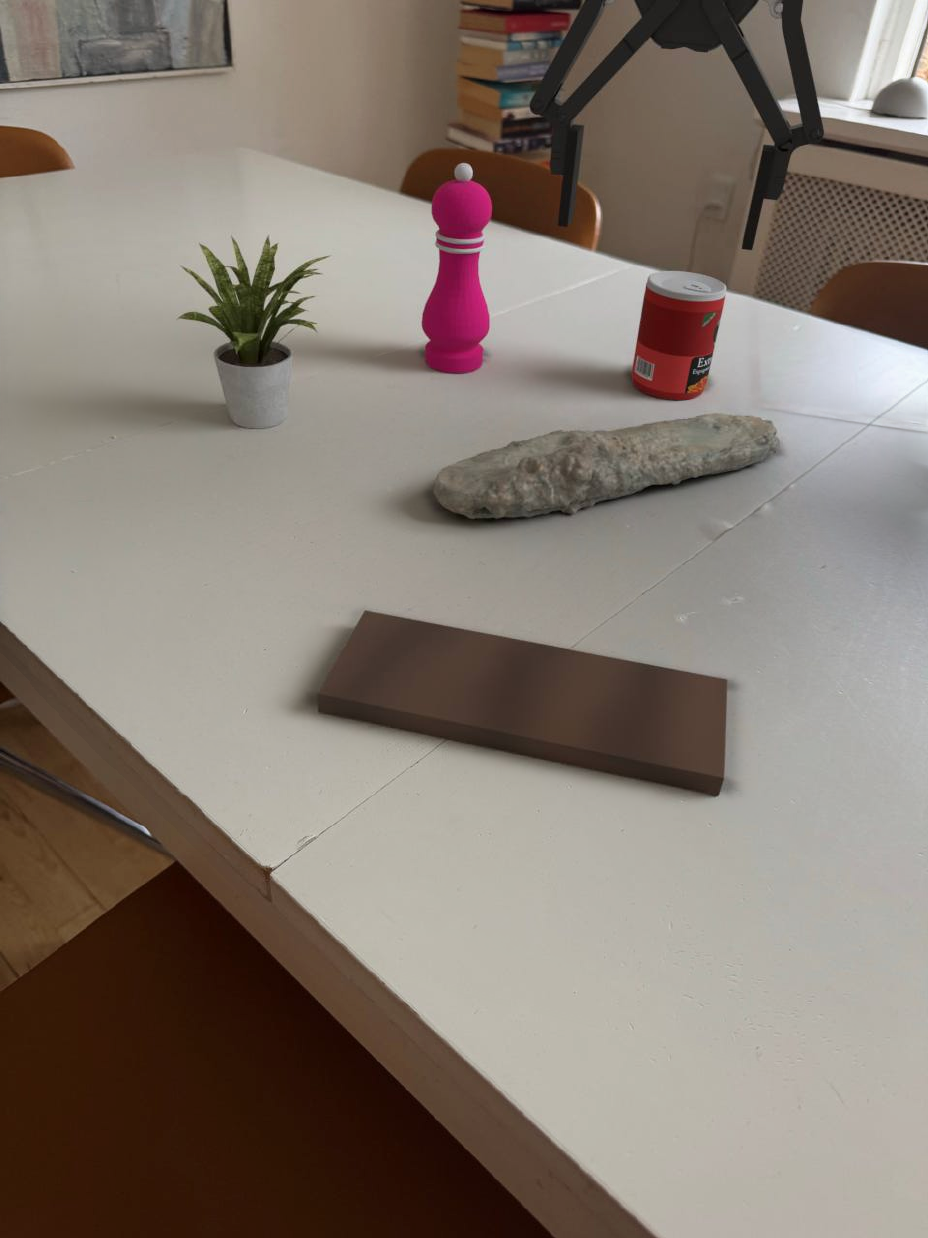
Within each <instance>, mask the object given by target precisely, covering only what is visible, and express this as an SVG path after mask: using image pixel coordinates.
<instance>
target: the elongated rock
mask: <svg viewBox="0 0 928 1238" xmlns="http://www.w3.org/2000/svg"><path fill="white" fill-rule="evenodd" d="M773 423H774V422H773V420H768V419H765V420H764V419H763V418H762V417H760V416H759V417H758V416H754V415H739V414H735V415H733V414H725V413H717V412H714V413H708V414H701V415H697V416H694V417H688V418H677V419H672V420H661V421H655V422H651V423H643V424H641V425H637V426H628V427H624V428H618V429H613V430H602V429H601V430H600V429H599V430H593V431H592V430H579V429H577V430H574V429H573V430H569V431H567V430H566V431H564V430H563V429H559V430H554V431H550V432H549V433H547V434H543V435H539V436H536V437H533V438H528V439H525V440H517V441H516V440H513V441H511V442H509V443H508V444H507V445H506V446H503V447H501V448H496V449H491V450H488V451H484V452H483V451H482V452H480V453H478V454H476V455H473V456H471V457H469V458H465V459H461V460H459V461H457V462H455V463H453V464H450V465H448V466H445V467H443V468H442V469H441V470H440V471H439V472H438V473H437V475H436V478H435V479H434V484H433V495H434V496H435V499H436V500H437V502H438V503H439V504H440V505H441V507H443V508H445V509H446V510H448V511H451V512H452V513H455V514H459V515H462V516H465V517H466V518H468V519H471V520H475V519H493V518H494V519H501V518H521V517H524V518H533V517H534V516H539V515H540V516H541V515H546V514H547V515H548V514H550V513H551V512H558V511H561V512H562V513H563V514H565V513H566V514H571V515H576V514H577V512H578V511H579V510H580V509H584V508H588V507H589V508H590V507H591V508H593V506H594V505H595V504H596V503H599V502H601V501H602V502H603V501H606V500H613V499H614V500H615V499H618V498H621V497H625V496H630V495H633V494H635V493H637V492H640V491H642V490H643V489H645V488H648V487H650V486H654V485H656V486H659V485H660V486H661V485H663V486H664V485H669V484H671V485H679V484H680V483H681V482H682V481H685V480H687V479H691V478H694V479H696V478H698V477H700V476H701V477H702V476H707V475H716V474H717V475H718V474H720V473H721V474H722V473H725V472H726V473H727V472H731V471H739V470H741V469H743V468H745V467H747V466H750V465H753V464H755V463H762V462H763V460H764V459H766V458H768V457H769V455H771V454H772V453H773V454H778V451H779V447H780V442H781V439H780V438H779V437H778V436H776V435H777V432H778V430H777V428H776V427H775V425H774V424H773Z"/></svg>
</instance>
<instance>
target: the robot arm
mask: <svg viewBox="0 0 928 1238" xmlns="http://www.w3.org/2000/svg"><path fill="white" fill-rule="evenodd" d="M617 1H618V0H584V1H583V4H582V6H581V7H580V9H579V11H578V13H577V15H576V17H574V20H573V22H572V24H571V25H570V27H569V29H568V30H567V33H566V35H565V37H564V38H563V39H562V42H561V44H560V46H559V47H558V50H557V51H556V53H555V55H554V56H553V59H552V60H551V62H550V64H549V66H548V68H547V70H546V71H545V73H544V76H543V77H542V79H541V80H540V83H539V84H538V86H537V88H536V90H535V92H534V93H533V95H532V97H531V99H530V101H529V110H530V112H531V113H532V114H533V115H535V116H540V117H541V118H544V119H545V120H547V121H549V123H550V124H551V126H552V138H551V149H550V158H549V170H550V175H553V176H554V175H555V176H562V179H561V180H562V181H561V191H560V198H559V199H560V200H559V208H558V217H557V227H563V228H568V227H569V226H570V225H571V223H572V221H573V220H574V219H575V218H574V217H575V209H576V200H577V191H578V183H579V173H580V165H581V158H582V148H583V142H584V141H583V140H584V131H585V125H584V124H577V123H576V124H574V122H575V119H576V117H578V116H579V114H581V113H582V111H583V110H584V109H585V108H587V106H588V105H589V104H590V103H591V102H592V100H594V99H595V98H596V96H597V95H598V94H599V93H600V92H601V91H602V90H603V89H604V88H605V87H606V85H607V84H608V83H610V81H611V80H612V79H614V77H615V76H616V75H617V74H618V73H619V72H620V71H621V69H622V68H624V66H625V65H626V64H627V63H628V62H629V61H630V60H631V59H632V58H633V57H634V55H635V54H636V53H637V52H639V50H640V49H641V48H643V46H644V45H645V44H646V43H647V42H648V41H649V40H650V39H651V40H652V42H653V43H654V44H655V45H657V46H658V47H660V49H663V50H676V49H681V48H687V49H689V50H691V51H694V52H695V53H709V52H711V51H714V50H716V49H718V48H720V46H722V47H723V49H724V51H725V53H726V55H727V57H728V58H729V60H730V62H731V63H732V65H733V67H734V69H735V70H736V72H737V74H738V76H739V79H740V80H741V82H742V84H743V86H744V88H745V91H746V93H747V94H748V96H749V97H750V100H751V101H752V104H753V105H754V107H755V109H756V111H757V113H758V115H759V116H760V118H761V121H762V122H763V124H764V126H765V129H766V130H767V132H768V134H769V136H770V138H771V140H772V142H773V143H774V144H773V145H772V144H763V145H762V150H761V154H760V159H759V163H758V168H757V172H756V177H755V182H754V187H753V191H752V197H751V200H750V205H749V209H748V214H747V218H746V224H745V229H744V233H743V237H742V243H741V250H745V251H746V250H747V251H753V249H754V244H755V241H756V236H757V231H758V226H759V221H760V217H761V214H762V208H763V204H764V200H769V201H778V200H779V199H780V197H781V196H782V194H783V190H784V186H785V181H786V178H787V173H788V168H789V165H790V160H791V156H792V154H793V153H794V151H796V149H798V148H800V147H803V146H808V145H815V144H818V143H820V142H822V140H823V138H824V136H825V128H824V125H823V119H822V114H821V110H820V105H819V99H818V96H817V91H816V85H815V81H814V76H813V70H812V66H811V62H810V61H811V60H810V57H809V52H808V47H807V44H806V43H807V42H806V37H805V33H804V28H803V23H802V13H803V7H804V0H763V1H764V2H765V3H766V4H767V5H768V10H769V13H770V15H771V17H772V18H774V19H778V20H779V19H781V30H782V36H783V41H784V45H785V51H786V54H787V59H788V64H789V69H790V73H791V78H792V83H793V88H794V91H795V96H796V101H797V106H798V110H799V116H800V119H801V122H800V123H798V124H795V125H791V124H790V122H789V120H788V118H787V116H786V115H785V113H784V110H783V109H782V107H781V105H780V103H779V100H778V99H777V97H776V95H775V93H774V91H773V89H772V87H771V85H770V83H769V81H768V79H767V78H766V75H765V74H764V72H763V69H762V68H761V65H760V63H759V62H758V60H757V57H756V55H755V54H754V52H753V50H752V48H751V46H750V43H749V41H748V39H747V37H746V36H745V33H744V31H743V30H742V27H741V26H740V24H741V23H742V22H743V21H744V20H745V19H746V18H747V16H748V15H749V14H750V13H751V12H752V11H753V9H754V8H755V7H756V6H757V4H758V3H759V1H760V0H633V2H634V4H635V6H636V8H637V11H638V13H639V14H640V19H639V20H638V21H636V23H635V24H634V25H633V26H632V27H631V28H630V30H629V31H628V32H627V33H626V34H624V36H623V37H622V38H621V39H620V41H618V43H617V44H616V45H615V47H614V48H613V49H612V50H611V51H610V52H609V53H608V54H607V55H606V56H605V57H604V59H602V61H600V63H599V64H598V65H597V66H596V67H595V68H594V69H593V71H592V72H590V74H589V75H588V76H587V77H586V78H585V79H584V80H583V81H582V82H581V84H580V85H578V87H577V88H576V89H575V90H574V91H573V92H572V94H570V95H569V97H568V98H566V100H565V101H564V102H563V101H561V100H559V99H557V96H558V95H559V93H560V91H561V89H562V87H563V85H564V84H565V82H566V80H567V78H568V77H569V75H570V73H571V71H572V69H573V68H574V66H575V64H576V62H577V60H578V59H579V57H580V55H581V53H582V52H583V49H584V48H585V46H586V45H587V43H588V41H589V39H590V37H591V36H592V34H593V32H594V30H595V28H596V26H597V25H598V23H599V21H600V20H601V17H602V16H603V14H604V12H605V10H606V6H607V5H612V4H614V3H617Z"/></svg>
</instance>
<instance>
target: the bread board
mask: <svg viewBox="0 0 928 1238" xmlns="http://www.w3.org/2000/svg"><path fill="white" fill-rule="evenodd" d="M316 696H317V698H316V699H317V712H318V713H320V714H321V713H322V714H326V715H331V716H336V717H339V718H344V719H349V720H355V721H359V722H365V723H368V724H374V725H377V726H384V727H388V728H393V729H398V730H402V731H406V732H411V733H416V734H422V735H427V736H431V737H435V738H441V739H444V740H450V741H454V742H460V743H464V744H469V745H472V746H473V745H474V746H478V747H483V748H487V749H492V750H497V751H502V752H507V753H512V754H515V755H521V756H526V757H531V758H535V759H540V760H545V761H550V762H555V763H559V764H564V765H569V766H574V767H579V768H581V769H582V768H583V769H588V770H592V771H597V772H603V773H606V774H611V775H617V776H621V777H625V778H631V779H635V780H639V781H640V780H641V781H643V782H650V783H655V784H659V785H664V786H669V787H673V788H677V789H683V790H688V791H691V792H697V793H702V794H706V795H711V796H717V797H719V796H720V794H721V791H722V788H723V784H724V781H725V777H726V776H725V775H726V772H725V771H726V744H727V742H726V740H727V715H728V714H727V711H728V709H727V707H728V679H727V678H723V677H716V676H711V675H706V674H702V673H695V672H690V671H685V670H680V669H674V668H670V667H666V666H665V667H664V666H660V665H654V664H649V663H643V662H639V661H638V662H637V661H633V660H628V659H623V658H618V657H612V656H607V655H602V654H595V653H591V652H586V651H581V650H575V649H569V648H565V647H559V646H554V645H549V644H544V643H538V642H534V641H528V640H523V639H517V638H512V637H508V636H502V635H498V634H491V633H487V632H481V631H476V630H471V629H465V628H460V627H455V626H449V625H446V624H445V625H444V624H441V623H440V624H439V623H435V622H428V621H423V620H419V619H413V618H409V617H402V616H397V615H393V614H387V613H381V612H378V611H377V612H376V611H372V610H371V611H370V610H367V609H366V610H365V609H364V611H363V612H362V614H361V616H360V617H359V620H358V621H357V623H356V625H355V627H354V628H353V630H352V632H351V634H350V635H349V637H348V639H347V641H346V643H345V644H344V646H343V647H342V650H341V651H340V653H339V655H338V656H337V658H336V660H335V662H334V663H333V665H332V667H331V669H330V671H329V672H328V674H327V676H326V677H325V680H324V681H323V683H322V685H321V687H320V688H319V690H318V692H317V694H316Z"/></svg>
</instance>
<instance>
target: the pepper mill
mask: <svg viewBox="0 0 928 1238" xmlns="http://www.w3.org/2000/svg"><path fill="white" fill-rule="evenodd" d="M473 173H474V172H473V168H472V166H471V165H470V164H469V163H467V162H461V163H459V164H457V165H456V166H455V168H454V177H455V179H452V180H449V181H446V182H444V183H443V184H441V185H440V186H439V187H438V188H437V189H436V191H435V192H434V194H433V197H432V201H431V216H432V219H433V221H434V223H435V224H436V225H437V227H438V229H437V230H436V232H435V237H436V238H435V239H436V240H435V242H434V245H435V247H436V248H437V249H438V257H439V258H438V259H439V261H438V269H437V275H436V280H435V282H434V285H433V288H432V290H431V292H430V293H429V295H428V297H427V300H426V302H425V305H424V307H423V311H422V314H421V315H422V316H421V329H422V331H423V333H424V335H425V336H426V338H428V340H429V341H428V342H427V343H426V344H425V348H424V349H425V350H424V361H425V364H426V365H427V366H428V367H430V368H431V369H433V370H435V371H438V372H442V373H449V374H466V373H471V372H474V371H476V370H479V369H480V368H481V367H482V366H483V361H484V347H483V345H481V342H482V341H483V340H484V339H485V338H486V337H487V336H488V334H489V333H490V328H491V327H490V326H491V325H490V324H491V322H490V312H489V307H488V303H487V301H486V297H485V294H484V292H483V288H482V285H481V281H480V273H479V270H480V269H479V263H480V262H479V261H480V255H481V252H483V250H484V249H485V247H486V245H485V239H486V234H485V233H483V231H484V229H485V228H486V227H487V225H488V224H489V223H490V222H491V219H492V213H493V212H492V211H493V205H492V199H491V196H490V194H489V192H488V191H487V189H486V188H485V187H484V186H483V185H481V184H480V183H478V182H476V181H473V180H472V178H473V176H474V175H473Z"/></svg>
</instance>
